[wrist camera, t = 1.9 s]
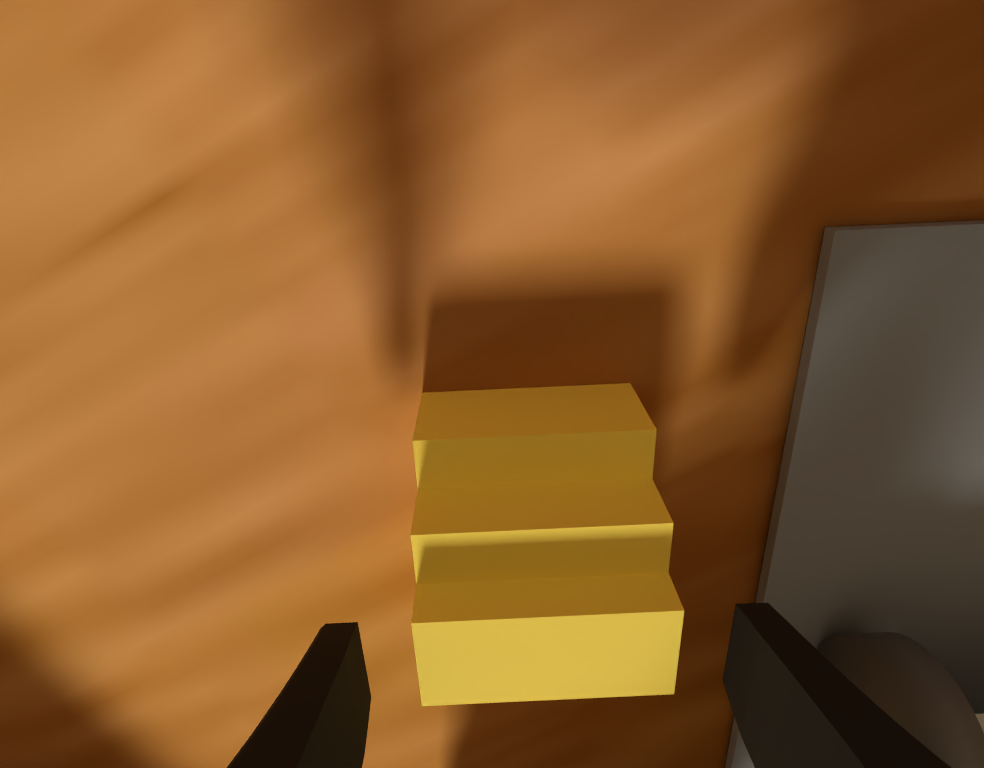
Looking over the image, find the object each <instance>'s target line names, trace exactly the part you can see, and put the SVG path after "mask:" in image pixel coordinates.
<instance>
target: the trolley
mask: <svg viewBox="0 0 984 768" xmlns="http://www.w3.org/2000/svg"><path fill="white" fill-rule="evenodd" d="M817 650H818V651H819V652H820V653H821V654H822V655H823V656H824V657H825V658H826V659H827V660H829V661H830V662H831V663H832V664H833V665H834V666H835V667H836V668H837V669H838V670H839V671H840V672H841V673H842V674H843V675H845V676H846V677H847V678H848V679H849V680H850V681H851V682H852V683H853V684H854V685H855V686H857V687H858V688H859V689H860V690H861V691H862V692H863V693H864V694H865V695H867V696H868V697H869V698H870V699H871V700H872V701H873V702H874V703H875V704H876V705H878V706H879V707H880V708H881V709H882V710H883V711H884V712H885V713H887V714H888V715H889V716H890V717H891V718H892V719H893V720H895V721H896V722H897V723H898V724H899V725H900V726H902V727H903V728H904V729H905V730H906V731H908V732H909V733H910V734H911V735H912V736H914V737H915V738H916V739H917V740H918V741H920V742H921V743H922V744H923V745H924V746H926V747H927V748H928V749H929V750H930V751H932V752H933V753H934V754H935V755H936V756H938V757H939V758H940V759H941V760H943V761H944V762H945V763H946V764H948V765H949V766H950V767H951V768H984V714H975V713H974V711H973V709H972V707H971V706H970V704H969V702H968V700H967V699H966V697H965V695H964V694H963V692H962V691H961V689H960V688H959V686H958V685H957V683H956V682H955V680H954V679H953V678H952V676H951V675H950V674H949V672H948V671H947V670H946V669H945V667H944V666H943V665H942V664H941V663H940V662H939V661H938V660H937V659H936V658H935V657H934V656H933V655H932V654H931V653H930V652H929V651H928V650H927V649H926V648H924V647H923V646H922V645H920V644H919V643H918V642H916V641H914V640H913V639H911V638H909V637H907V636H905V635H902V634H899V633H894V632H879V633H858V634H838V635H831V636H829V637H827V638H826V639H824V640H823V641H822V643H821V644H820V645H819V647H818V649H817Z"/></svg>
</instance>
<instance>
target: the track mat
mask: <svg viewBox="0 0 984 768" xmlns="http://www.w3.org/2000/svg"><path fill="white" fill-rule="evenodd" d="M755 603H769V604H770V605H771V606H772V607H773V608H774V609H775V610H776V611H777V612H778V613H779V614H781V615H782V616H783V617H784V618H785V619H786V620H787V621H788V622H789V623H790V624H791V625H792V626H793V627H794V628H795V629H796V630H797V631H798V632H799V633H800V634H801V635H802V636H803V637H804V638H806V639H807V640H808V641H809V642H810V643H811V644H812V645H813V646H814V647H815V648H816V649H818V647H819V645H820V644H821V643H822V641H823V640H824V639H826V638H827V637H829V636H831V635H838V634H858V633H879V632H894V633H899V634H902V635H905V636H907V637H909V638H911V639H913V640H914V641H916V642H918V643H919V644H920V645H922V646H923V647H924V648H926V649H927V650H928V651H929V652H930V653H931V654H932V655H933V656H934V657H935V658H936V659H937V660H938V661H939V662H940V663H941V664H942V665H943V666H944V667H945V669H946V670H947V671H948V672H949V674H950V675H951V676H952V678H953V679H954V680H955V682H956V683H957V685H958V686H959V688H960V689H961V691H962V692H963V694H964V695H965V697H966V699H967V700H968V702H969V704H970V706H971V707H972V709H973V711H974V713H975V714H984V220H973V221H951V222H929V223H907V224H885V225H863V226H841V227H825V230H824V235H823V241H822V246H821V252H820V257H819V262H818V268H817V273H816V279H815V284H814V289H813V295H812V300H811V306H810V311H809V316H808V322H807V327H806V332H805V338H804V343H803V349H802V354H801V359H800V365H799V370H798V376H797V381H796V386H795V392H794V397H793V402H792V408H791V413H790V419H789V424H788V429H787V435H786V440H785V446H784V451H783V456H782V462H781V467H780V472H779V478H778V483H777V489H776V494H775V499H774V505H773V510H772V516H771V521H770V526H769V532H768V537H767V543H766V548H765V553H764V559H763V564H762V569H761V575H760V580H759V586H758V591H757V596H756V602H755ZM725 768H755V767H754V765H753V762H752V760H751V758H750V756H749V753H748V751H747V749H746V747H745V744H744V742H743V740H742V737H741V735H740V732H739V729H738V726H737V723H736V720H735V717H734V720H733V726H732V731H731V736H730V742H729V747H728V753H727V758H726V763H725Z"/></svg>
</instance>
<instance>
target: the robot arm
mask: <svg viewBox="0 0 984 768" xmlns="http://www.w3.org/2000/svg"><path fill="white" fill-rule="evenodd" d="M723 682H724V685H725V688H726V692H727V695H728V698H729V701H730V704H731V708H732V711H733V714H734V717H735V720H736V723H737V726H738V729H739V732H740V735H741V737H742V740H743V742H744V744H745V747H746V749H747V751H748V753H749V756H750V758H751V760H752V762H753V765H754V767H755V768H951V767H950V766H949V765H948V764H946V763H945V762H944V761H943V760H941V759H940V758H939V757H938V756H936V755H935V754H934V753H933V752H932V751H930V750H929V749H928V748H927V747H926V746H924V745H923V744H922V743H921V742H920V741H918V740H917V739H916V738H915V737H914V736H912V735H911V734H910V733H909V732H908V731H906V730H905V729H904V728H903V727H902V726H900V725H899V724H898V723H897V722H896V721H895V720H893V719H892V718H891V717H890V716H889V715H888V714H887V713H885V712H884V711H883V710H882V709H881V708H880V707H879V706H878V705H876V704H875V703H874V702H873V701H872V700H871V699H870V698H869V697H868V696H867V695H865V694H864V693H863V692H862V691H861V690H860V689H859V688H858V687H857V686H855V685H854V684H853V683H852V682H851V681H850V680H849V679H848V678H847V677H846V676H845V675H843V674H842V673H841V672H840V671H839V670H838V669H837V668H836V667H835V666H834V665H833V664H832V663H831V662H830V661H829V660H827V659H826V658H825V657H824V656H823V655H822V654H821V653H820V652H819V651H818V650H817V649H816V648H815V647H814V646H813V645H812V644H811V643H810V642H809V641H808V640H807V639H806V638H804V637H803V636H802V635H801V634H800V633H799V632H798V631H797V630H796V629H795V628H794V627H793V626H792V625H791V624H790V623H789V622H788V621H787V620H786V619H785V618H784V617H783V616H782V615H781V614H779V613H778V612H777V611H776V610H775V609H774V608H773V607H772V606H771V605H770V604H769V603H747V604H736V606H735V612H734V618H733V624H732V629H731V635H730V641H729V647H728V653H727V659H726V664H725V670H724V676H723ZM370 703H371V694H370V688H369V683H368V677H367V672H366V666H365V661H364V655H363V650H362V644H361V639H360V633H359V628H358V622H353V623H332V624H325V625H324V626H323V627H322V628H321V629H320V630H319V632H318V634H317V636H316V637H315V639H314V641H313V642H312V644H311V645H310V647H309V649H308V650H307V652H306V654H305V655H304V657H303V659H302V660H301V662H300V663H299V665H298V666H297V668H296V670H295V671H294V673H293V674H292V676H291V677H290V679H289V680H288V682H287V683H286V685H285V687H284V688H283V690H282V691H281V693H280V694H279V696H278V697H277V698H276V700H275V701H274V703H273V704H272V706H271V707H270V709H269V710H268V712H267V713H266V714H265V716H264V717H263V719H262V720H261V722H260V723H259V725H258V726H257V728H256V729H255V730H254V732H253V733H252V735H251V736H250V737H249V739H248V740H247V741H246V743H245V744H244V745H243V747H242V748H241V749H240V751H239V752H238V753H237V755H236V756H235V757H234V759H233V760H232V761H231V763H230V764H229V765H228V767H227V768H362V764H363V759H364V753H365V745H366V737H367V729H368V720H369V712H370Z"/></svg>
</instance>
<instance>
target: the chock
mask: <svg viewBox="0 0 984 768" xmlns="http://www.w3.org/2000/svg"><path fill="white" fill-rule="evenodd" d="M656 432H657V429H656V427H655V426H654V424H653V422H652V420H651V419H650V417H649V415H648V413H647V412H646V410H645V408H644V406H643V405H642V403H641V401H640V399H639V397H638V396H637V394H636V392H635V390H634V389H633V387H632V385H631V383H620V384H599V385H577V386H555V387H533V388H512V389H490V390H468V391H446V392H425V393H422V396H421V401H420V406H419V411H418V416H417V421H416V426H415V431H414V436H413V450H414V459H415V468H416V477H417V486H418V492H417V499H416V505H415V511H414V517H413V524H412V530H411V543H412V551H413V559H414V568H415V576H416V592H415V599H414V607H413V614H412V622H411V625H412V632H413V640H414V648H415V656H416V663H417V671H418V679H419V687H420V694H421V702H422V706H435V705H456V704H477V703H498V702H519V701H541V700H562V699H583V698H604V697H625V696H646V695H668V694H674V691H675V683H676V675H677V666H678V658H679V650H680V642H681V634H682V626H683V618H684V608H683V606H682V604H681V601H680V599H679V596H678V594H677V592H676V589H675V587H674V584H673V582H672V580H671V577H670V575H669V563H670V553H671V543H672V534H673V524H674V523H673V521H672V519H671V517H670V514H669V512H668V510H667V508H666V506H665V504H664V502H663V500H662V498H661V496H660V494H659V491H658V489H657V487H656V485H655V483H654V481H653V468H654V456H655V444H656Z"/></svg>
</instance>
